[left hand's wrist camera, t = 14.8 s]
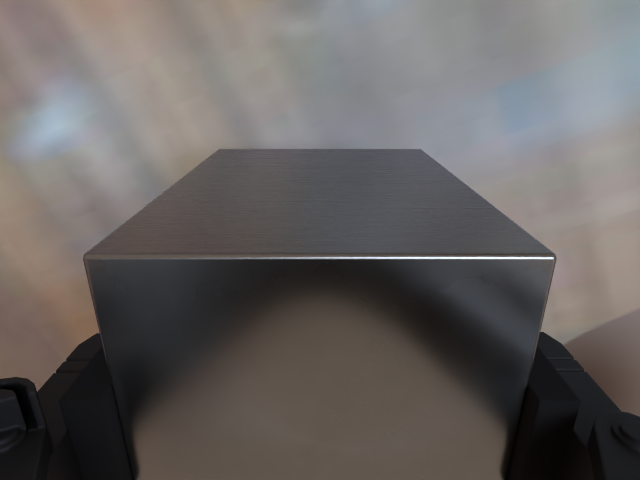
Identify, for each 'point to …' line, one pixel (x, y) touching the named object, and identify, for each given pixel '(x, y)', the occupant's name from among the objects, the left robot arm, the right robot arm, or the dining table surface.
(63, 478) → the left robot arm
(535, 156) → the dining table surface
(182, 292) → the block
